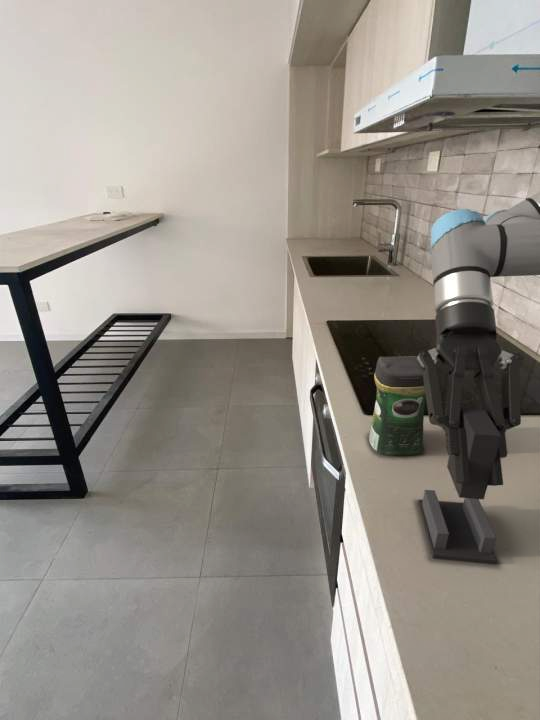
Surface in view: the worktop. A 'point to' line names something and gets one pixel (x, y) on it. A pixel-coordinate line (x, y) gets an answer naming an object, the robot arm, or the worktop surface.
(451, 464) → the dark gray block
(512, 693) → the worktop surface
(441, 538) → the base pad
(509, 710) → the worktop surface
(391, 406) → the coffee jar
